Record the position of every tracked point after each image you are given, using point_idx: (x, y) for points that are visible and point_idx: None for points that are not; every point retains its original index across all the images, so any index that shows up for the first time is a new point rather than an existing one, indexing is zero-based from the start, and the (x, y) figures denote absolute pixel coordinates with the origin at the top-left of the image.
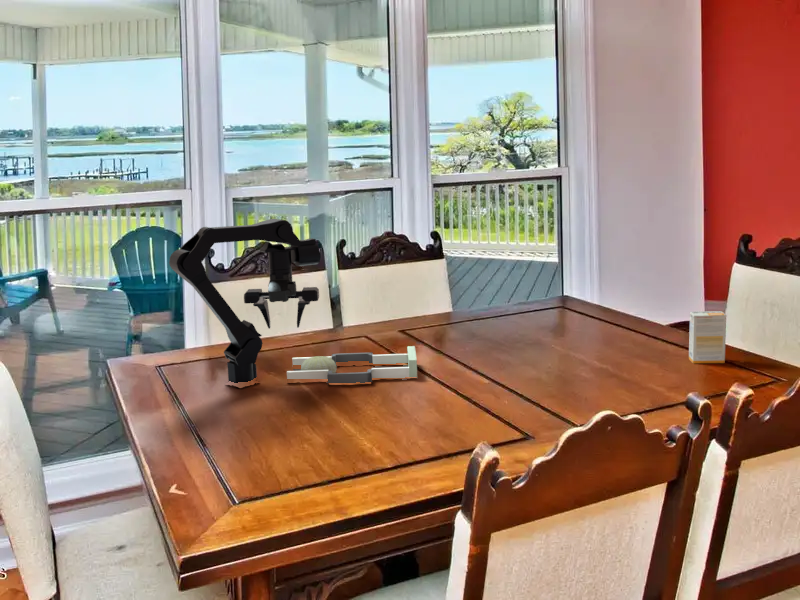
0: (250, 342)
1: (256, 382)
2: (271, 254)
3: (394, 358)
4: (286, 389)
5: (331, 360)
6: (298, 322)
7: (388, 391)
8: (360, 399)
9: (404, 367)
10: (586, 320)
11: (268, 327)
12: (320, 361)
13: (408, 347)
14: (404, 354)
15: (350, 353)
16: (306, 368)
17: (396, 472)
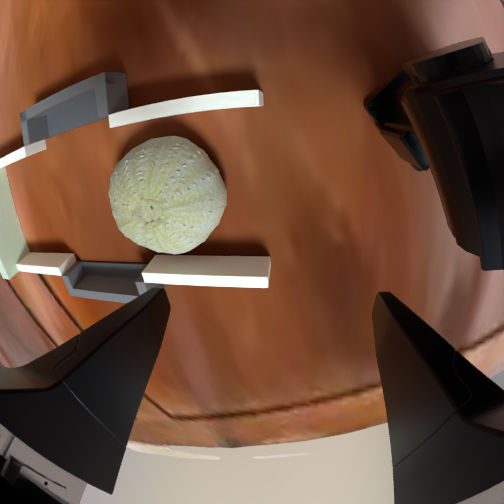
0: (472, 44)
1: (378, 126)
2: None
3: (34, 260)
4: (254, 32)
5: (113, 208)
6: (133, 304)
7: (18, 71)
8: (58, 4)
9: None
10: (5, 365)
11: (389, 294)
12: (134, 178)
13: (4, 271)
14: (19, 265)
15: (108, 298)
16: (190, 153)
17: None
